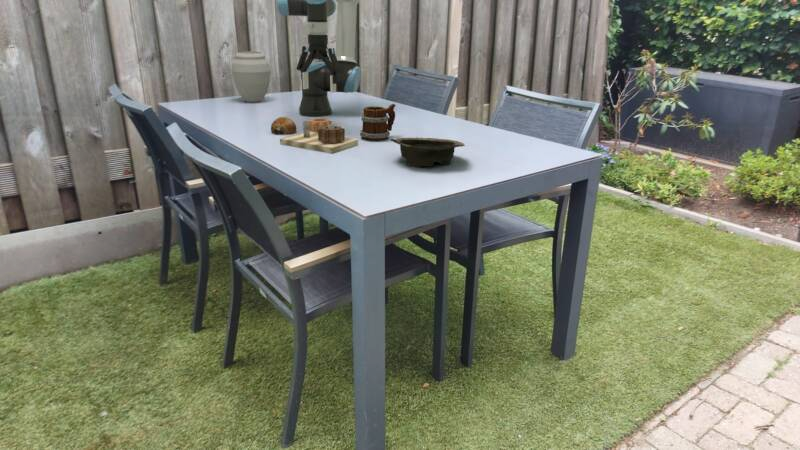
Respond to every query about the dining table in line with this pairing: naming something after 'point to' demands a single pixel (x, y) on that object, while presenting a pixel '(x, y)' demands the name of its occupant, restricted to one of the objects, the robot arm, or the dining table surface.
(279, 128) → the bread roll
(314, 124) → the gear
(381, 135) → the mug
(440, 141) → the stone bowl
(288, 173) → the dining table surface
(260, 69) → the vase
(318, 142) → the peg board
